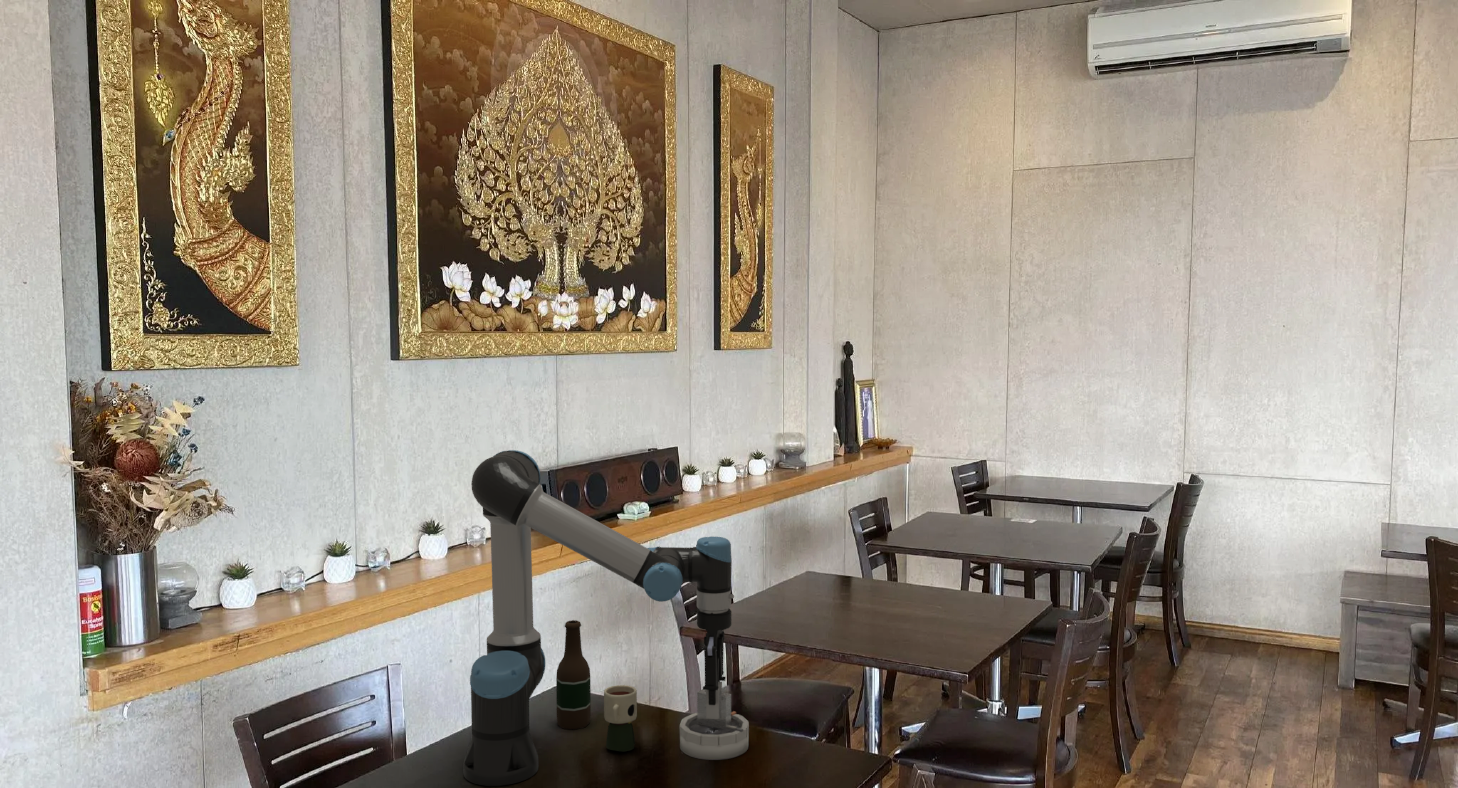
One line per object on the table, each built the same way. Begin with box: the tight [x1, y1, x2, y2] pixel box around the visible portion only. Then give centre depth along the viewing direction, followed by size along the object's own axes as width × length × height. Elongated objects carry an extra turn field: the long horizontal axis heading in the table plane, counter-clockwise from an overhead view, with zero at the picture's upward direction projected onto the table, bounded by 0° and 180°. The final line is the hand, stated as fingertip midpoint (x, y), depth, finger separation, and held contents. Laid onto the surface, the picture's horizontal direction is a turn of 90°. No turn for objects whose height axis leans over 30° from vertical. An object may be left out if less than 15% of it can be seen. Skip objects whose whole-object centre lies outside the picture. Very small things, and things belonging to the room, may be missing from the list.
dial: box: [689, 688, 739, 735], centre depth 226 cm, size 11×11×8 cm
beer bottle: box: [555, 619, 592, 730], centre depth 238 cm, size 8×8×24 cm
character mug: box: [603, 684, 638, 753], centre depth 224 cm, size 11×7×13 cm, turn 173°
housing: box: [679, 710, 750, 761], centre depth 226 cm, size 15×15×5 cm
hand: (714, 714), depth 226 cm, fingers closed on dial, 4 cm apart
